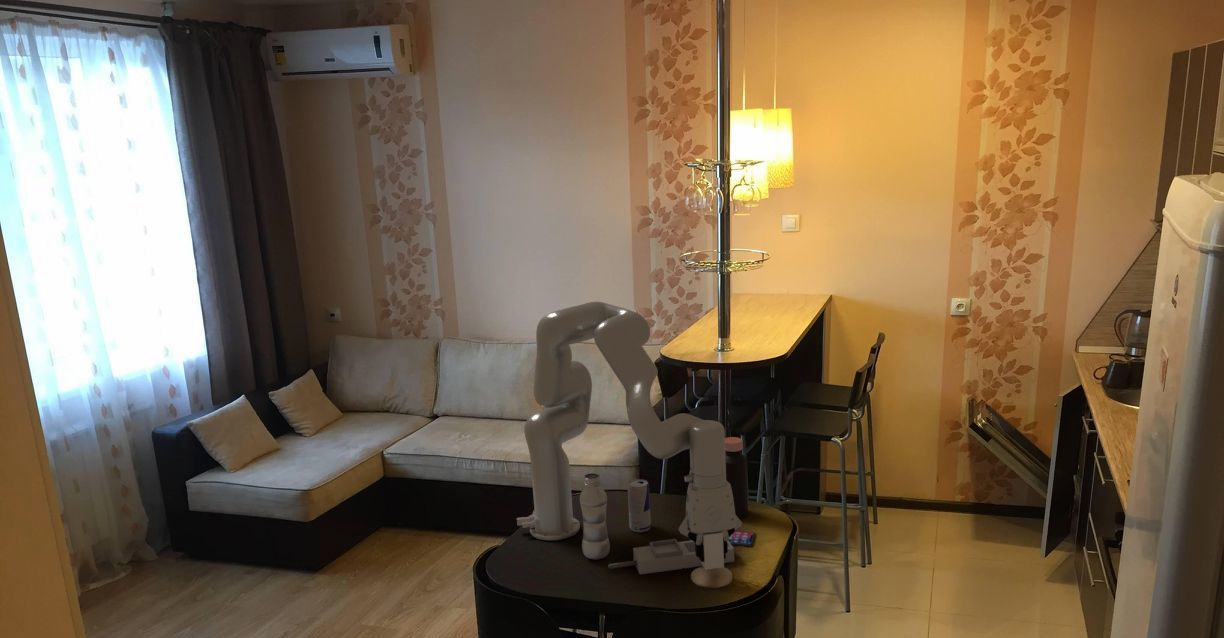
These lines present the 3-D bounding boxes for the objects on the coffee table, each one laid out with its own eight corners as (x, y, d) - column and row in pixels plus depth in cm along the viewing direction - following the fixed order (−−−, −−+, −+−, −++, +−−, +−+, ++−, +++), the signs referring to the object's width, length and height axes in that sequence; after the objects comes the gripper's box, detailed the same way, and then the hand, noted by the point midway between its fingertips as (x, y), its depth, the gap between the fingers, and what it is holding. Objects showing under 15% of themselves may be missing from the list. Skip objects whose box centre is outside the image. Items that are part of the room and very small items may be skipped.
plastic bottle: (596, 547, 201) (591, 468, 197) (616, 555, 196) (611, 475, 193) (576, 557, 197) (571, 476, 193) (596, 566, 192) (591, 483, 188)
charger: (705, 569, 181) (703, 534, 179) (700, 560, 185) (698, 526, 183) (724, 567, 181) (722, 532, 180) (718, 558, 186) (717, 524, 184)
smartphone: (694, 527, 208) (755, 531, 204) (694, 530, 208) (755, 535, 204) (688, 540, 201) (751, 545, 197) (689, 544, 201) (751, 549, 197)
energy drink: (654, 526, 211) (652, 481, 209) (644, 534, 207) (642, 488, 204) (636, 522, 214) (634, 477, 212) (625, 530, 209) (623, 485, 207)
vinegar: (727, 507, 220) (725, 434, 216) (752, 511, 216) (750, 437, 212) (717, 517, 214) (714, 442, 210) (742, 521, 211) (740, 446, 207)
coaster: (697, 590, 179) (697, 588, 179) (686, 570, 188) (686, 568, 187) (737, 584, 180) (737, 582, 180) (725, 565, 189) (725, 563, 189)
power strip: (611, 578, 186) (610, 560, 185) (606, 564, 192) (605, 547, 192) (734, 561, 191) (733, 544, 190) (725, 548, 197) (725, 532, 196)
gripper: (674, 489, 175) (678, 570, 178) (751, 480, 177) (754, 560, 181) (666, 476, 182) (670, 555, 185) (740, 467, 184) (743, 545, 188)
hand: (711, 556), depth 183 cm, fingers closed on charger, 4 cm apart
